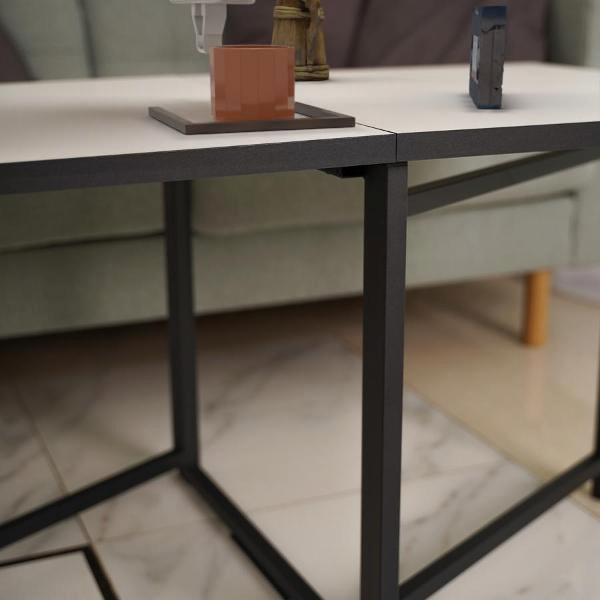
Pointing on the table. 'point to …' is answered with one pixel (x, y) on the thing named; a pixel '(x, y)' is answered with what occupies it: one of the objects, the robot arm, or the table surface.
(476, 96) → the vhs cassette tape
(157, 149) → the table surface
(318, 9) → the wooden mug
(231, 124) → the frame
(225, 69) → the cup
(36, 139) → the table surface
